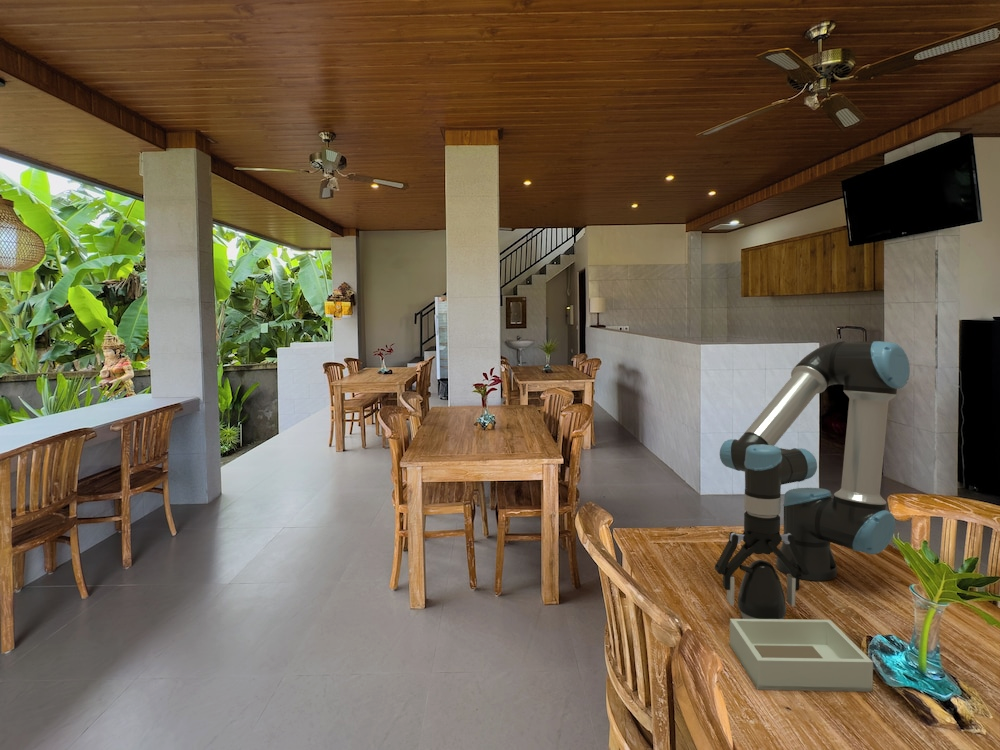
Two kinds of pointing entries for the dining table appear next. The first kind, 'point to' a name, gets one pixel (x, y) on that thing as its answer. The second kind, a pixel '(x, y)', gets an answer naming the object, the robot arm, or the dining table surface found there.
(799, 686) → the tray
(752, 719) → the dining table surface
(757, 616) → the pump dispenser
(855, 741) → the dining table surface
